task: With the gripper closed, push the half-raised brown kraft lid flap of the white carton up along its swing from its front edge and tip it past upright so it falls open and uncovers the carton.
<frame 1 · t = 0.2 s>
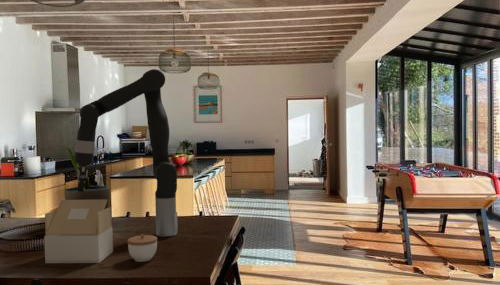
hand: (80, 190, 176), 23 cm above the table, tool pointing down, fingers open, 8 cm apart
potted plant: (88, 225, 215), on the table
flap: (77, 216, 159), point 16 cm above the table, hinge at 40.0°
carton: (80, 257, 161), on the table
lidded jar: (143, 259, 157), on the table
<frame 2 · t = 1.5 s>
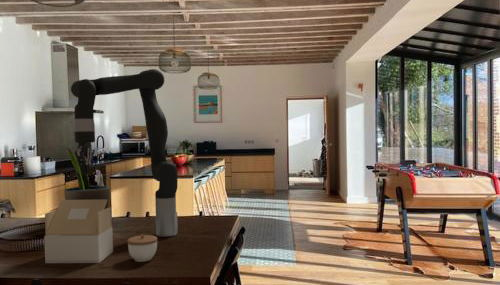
hand: (85, 174, 167), 31 cm above the table, tool pointing down, fingers closed
nothing on the table moved.
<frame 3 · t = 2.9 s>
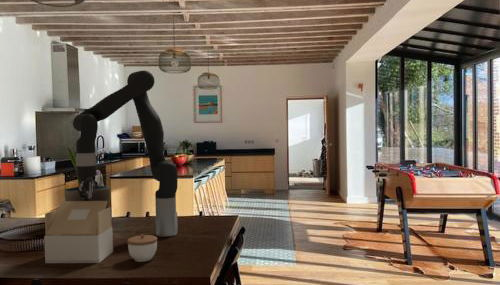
hand: (87, 207, 168), 18 cm above the table, tool pointing down, fingers closed
flap: (78, 217, 159), point 16 cm above the table, hinge at 37.0°, touching gripper
everything else where it was.
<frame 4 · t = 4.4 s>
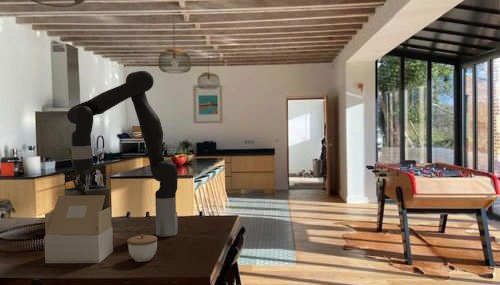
hand: (84, 201, 165), 21 cm above the table, tool pointing down, fingers closed
flap: (76, 214, 158), point 17 cm above the table, hinge at 50.6°, touching gripper
everything else where it was.
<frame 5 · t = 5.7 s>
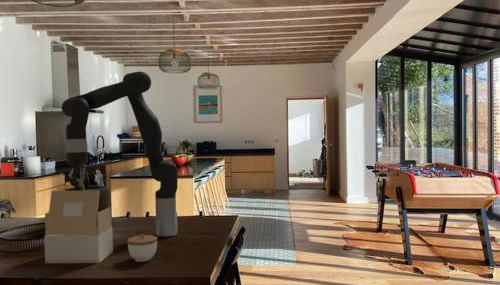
hand: (78, 196, 160), 23 cm above the table, tool pointing down, fingers closed
flap: (73, 212, 155), point 18 cm above the table, hinge at 71.3°, touching gripper
everything else where it was.
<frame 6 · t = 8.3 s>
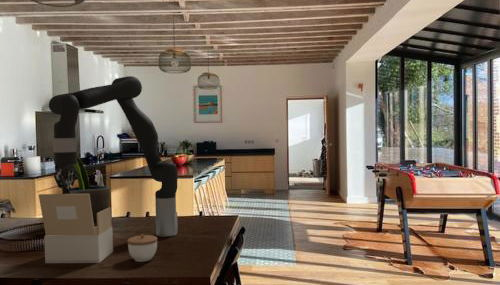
hand: (66, 199, 151), 24 cm above the table, tool pointing down, fingers closed
flap: (67, 214, 151), point 18 cm above the table, hinge at 104.7°, touching gripper
everything else where it was.
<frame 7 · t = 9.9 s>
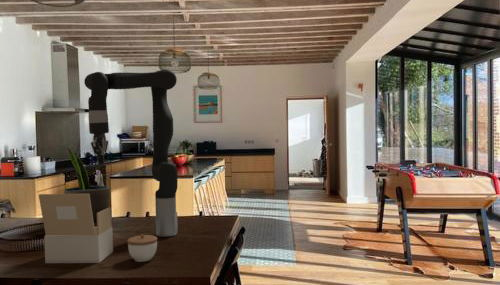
hand: (101, 164, 173), 34 cm above the table, tool pointing down, fingers closed
flap: (67, 215, 151), point 18 cm above the table, hinge at 104.7°
everything else where it was.
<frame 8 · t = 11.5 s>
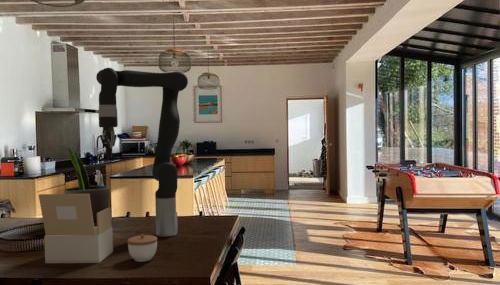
hand: (109, 156, 178), 37 cm above the table, tool pointing down, fingers closed
nothing on the table moved.
at the end: flap at +105° (first picture: +40°) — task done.
